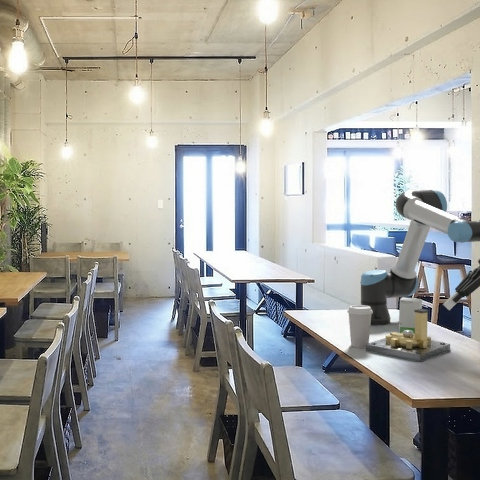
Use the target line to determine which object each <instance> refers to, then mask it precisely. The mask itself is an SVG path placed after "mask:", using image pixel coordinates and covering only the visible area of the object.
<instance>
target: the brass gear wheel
mask: <svg viewBox="0 0 480 480" xmlns="http://www.w3.org/2000/svg"><path fill="white" fill-rule="evenodd" d="M414 312H415V334H414V333H413V337H405V336H403V333H399V332H390V333H389V334H385V338H386V343H391V346H394V347H396V346H402V347H406V348H409V349H412V347H421V348H426V347H427V345H431V341H432V337H431V336H428V314H429V310H428V309H424V308H422V309H417V310H414Z"/></svg>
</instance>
